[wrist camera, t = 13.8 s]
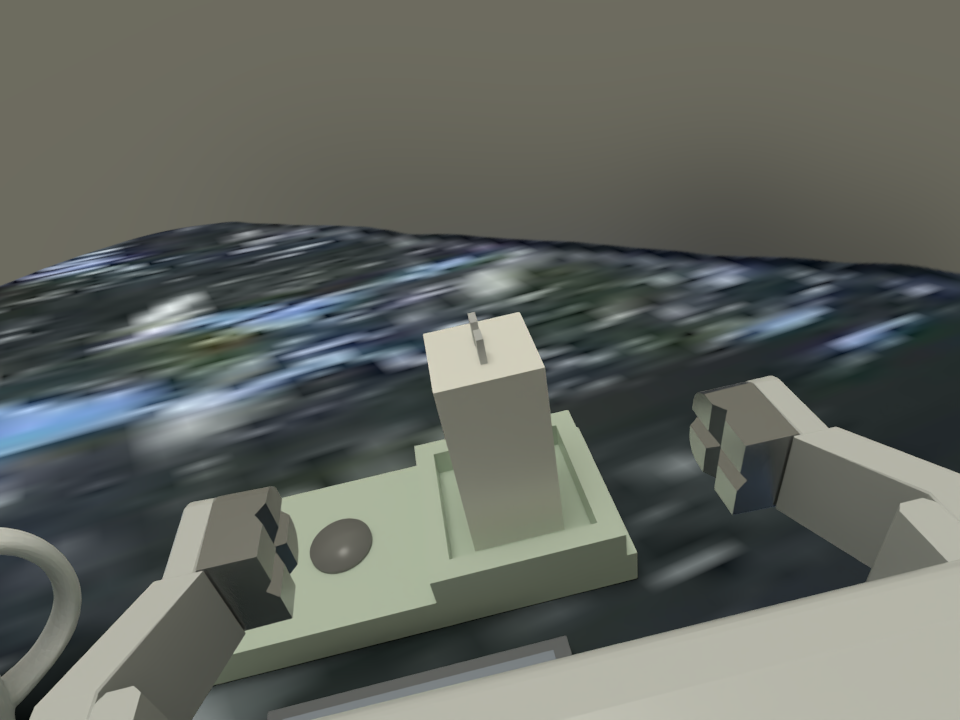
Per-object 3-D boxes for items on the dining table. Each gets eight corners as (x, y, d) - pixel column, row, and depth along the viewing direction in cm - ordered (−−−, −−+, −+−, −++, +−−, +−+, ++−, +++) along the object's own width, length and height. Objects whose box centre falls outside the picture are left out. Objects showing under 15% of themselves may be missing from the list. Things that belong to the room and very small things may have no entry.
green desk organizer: (182, 693, 27) (146, 654, 25) (220, 538, 35) (194, 498, 33) (637, 578, 28) (637, 532, 26) (580, 451, 36) (576, 407, 34)
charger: (475, 551, 29) (426, 369, 22) (462, 484, 32) (417, 311, 26) (564, 529, 29) (541, 342, 22) (541, 465, 32) (516, 289, 26)
